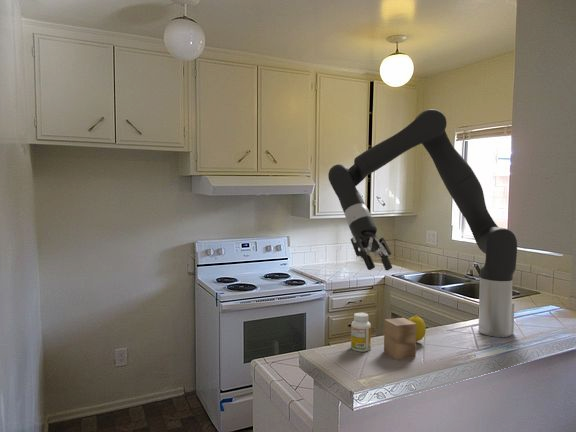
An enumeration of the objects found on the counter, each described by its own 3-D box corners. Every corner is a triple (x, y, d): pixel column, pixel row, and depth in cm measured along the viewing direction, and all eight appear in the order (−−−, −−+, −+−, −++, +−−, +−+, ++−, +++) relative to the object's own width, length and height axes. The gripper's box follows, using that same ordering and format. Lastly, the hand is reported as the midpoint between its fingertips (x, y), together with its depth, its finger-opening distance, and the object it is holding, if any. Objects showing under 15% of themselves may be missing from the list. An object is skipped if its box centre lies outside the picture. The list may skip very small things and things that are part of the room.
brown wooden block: (402, 349, 119) (403, 317, 119) (415, 357, 114) (416, 323, 113) (383, 351, 117) (384, 319, 117) (396, 359, 112) (396, 325, 111)
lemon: (403, 339, 128) (403, 312, 127) (421, 339, 128) (421, 312, 128) (409, 345, 122) (410, 318, 122) (428, 345, 123) (429, 317, 122)
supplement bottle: (361, 344, 123) (362, 310, 123) (374, 350, 119) (375, 315, 118) (347, 347, 121) (347, 313, 120) (359, 353, 116) (359, 318, 116)
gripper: (354, 212, 124) (375, 262, 117) (382, 217, 134) (404, 263, 127) (336, 226, 129) (356, 274, 122) (365, 229, 138) (385, 275, 131)
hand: (380, 269), depth 124 cm, fingers open, 8 cm apart
